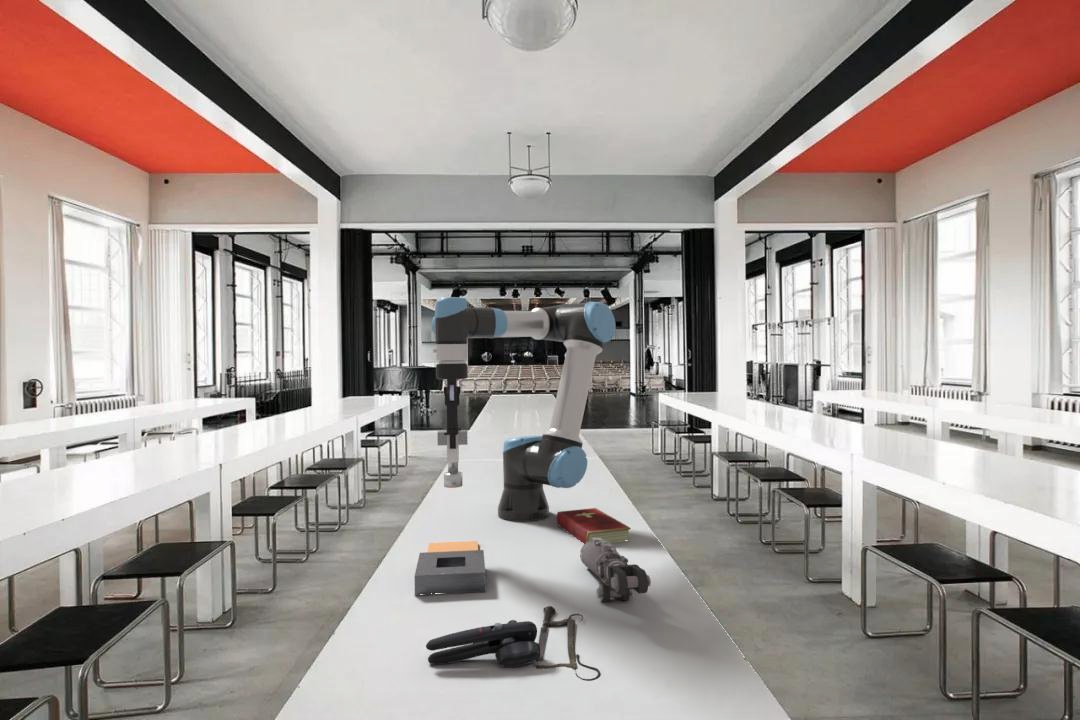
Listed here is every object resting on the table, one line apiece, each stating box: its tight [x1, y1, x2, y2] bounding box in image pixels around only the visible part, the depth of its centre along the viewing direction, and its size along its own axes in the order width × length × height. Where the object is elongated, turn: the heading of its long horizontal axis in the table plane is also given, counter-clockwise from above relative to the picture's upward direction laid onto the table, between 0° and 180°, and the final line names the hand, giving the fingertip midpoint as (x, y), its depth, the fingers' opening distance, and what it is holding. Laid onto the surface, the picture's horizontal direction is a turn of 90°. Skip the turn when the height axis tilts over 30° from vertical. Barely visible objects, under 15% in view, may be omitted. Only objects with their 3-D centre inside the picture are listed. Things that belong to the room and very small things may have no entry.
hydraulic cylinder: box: [579, 538, 652, 602], centre depth 124 cm, size 7×37×10 cm, turn 8°
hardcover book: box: [556, 507, 631, 545], centre depth 164 cm, size 12×21×4 cm, turn 20°
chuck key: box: [436, 429, 468, 489], centre depth 147 cm, size 7×4×13 cm, turn 97°
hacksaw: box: [532, 605, 601, 682], centre depth 103 cm, size 24×10×2 cm, turn 176°
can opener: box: [425, 619, 540, 668], centre depth 96 cm, size 18×7×6 cm, turn 96°
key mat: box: [426, 540, 479, 552], centre depth 148 cm, size 12×12×1 cm
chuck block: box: [414, 549, 487, 596], centre depth 130 cm, size 14×14×4 cm
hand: (453, 460), depth 147 cm, fingers closed on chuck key, 3 cm apart
